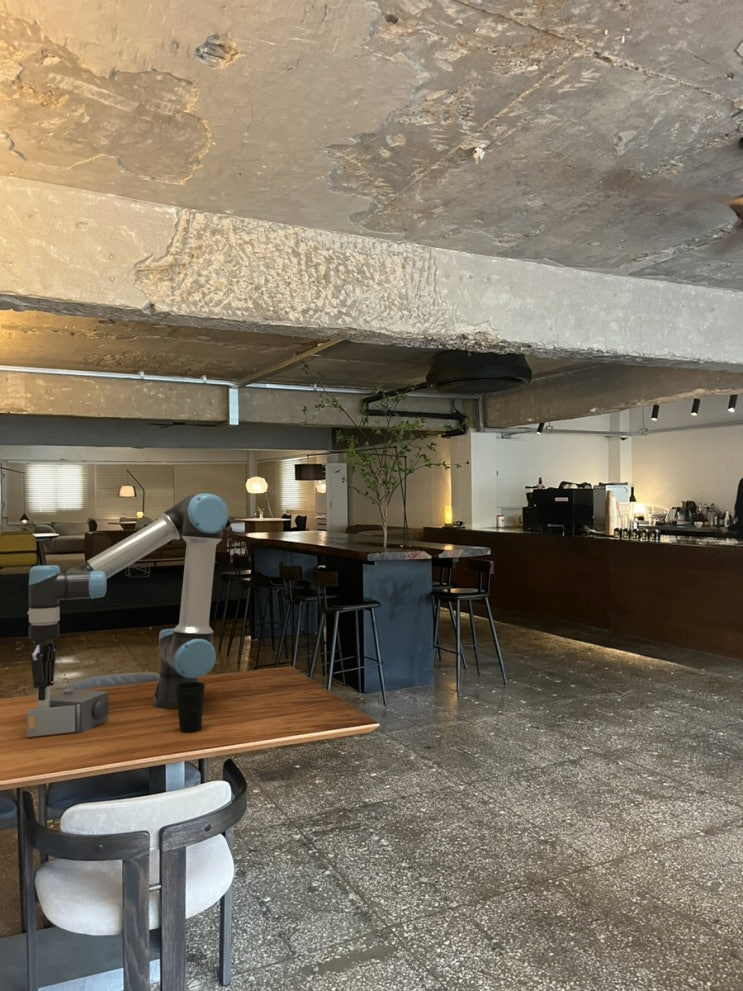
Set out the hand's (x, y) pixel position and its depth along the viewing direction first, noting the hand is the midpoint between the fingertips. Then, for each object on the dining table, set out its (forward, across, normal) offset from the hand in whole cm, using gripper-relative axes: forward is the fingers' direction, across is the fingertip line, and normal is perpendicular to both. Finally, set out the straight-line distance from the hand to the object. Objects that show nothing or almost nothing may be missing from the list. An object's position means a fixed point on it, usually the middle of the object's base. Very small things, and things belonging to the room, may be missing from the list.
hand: (43, 711), depth 193 cm
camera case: (+6, -8, +5) cm, 11 cm away
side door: (+5, +2, +3) cm, 7 cm away
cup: (+6, 0, +39) cm, 39 cm away
